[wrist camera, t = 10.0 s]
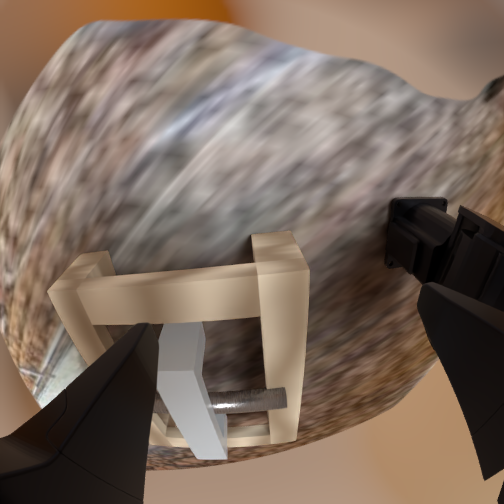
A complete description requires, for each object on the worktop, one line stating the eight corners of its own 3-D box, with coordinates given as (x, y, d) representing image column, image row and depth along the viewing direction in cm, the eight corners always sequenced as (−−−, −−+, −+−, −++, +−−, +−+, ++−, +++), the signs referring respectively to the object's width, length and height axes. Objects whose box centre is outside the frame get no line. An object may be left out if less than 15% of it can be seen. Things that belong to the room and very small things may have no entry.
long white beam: (201, 319, 20) (193, 370, 15) (227, 417, 25) (227, 459, 20) (164, 321, 20) (148, 370, 15) (200, 418, 25) (197, 459, 20)
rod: (283, 381, 21) (287, 400, 19) (283, 393, 21) (287, 412, 20) (118, 385, 20) (112, 402, 18) (126, 397, 21) (122, 413, 19)
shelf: (290, 230, 21) (309, 269, 15) (288, 402, 31) (295, 440, 26) (81, 253, 20) (47, 291, 15) (157, 408, 31) (151, 444, 26)
